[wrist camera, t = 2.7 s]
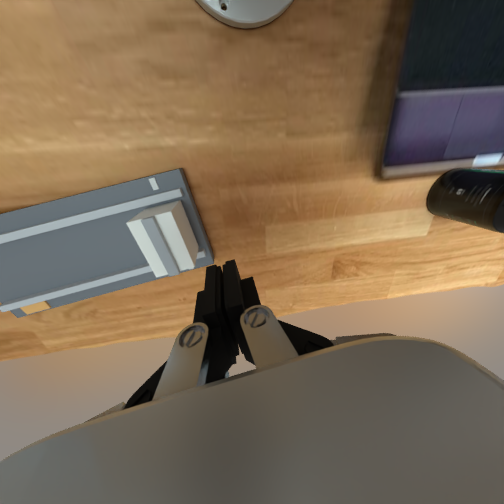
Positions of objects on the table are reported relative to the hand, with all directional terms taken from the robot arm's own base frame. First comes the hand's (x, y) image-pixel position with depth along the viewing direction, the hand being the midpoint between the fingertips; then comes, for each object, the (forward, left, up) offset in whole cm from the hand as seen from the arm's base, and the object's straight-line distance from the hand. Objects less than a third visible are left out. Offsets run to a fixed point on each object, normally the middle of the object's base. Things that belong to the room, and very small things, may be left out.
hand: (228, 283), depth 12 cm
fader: (+6, 0, -13) cm, 15 cm away
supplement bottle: (-33, +6, -16) cm, 37 cm away
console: (+16, 0, -16) cm, 22 cm away
